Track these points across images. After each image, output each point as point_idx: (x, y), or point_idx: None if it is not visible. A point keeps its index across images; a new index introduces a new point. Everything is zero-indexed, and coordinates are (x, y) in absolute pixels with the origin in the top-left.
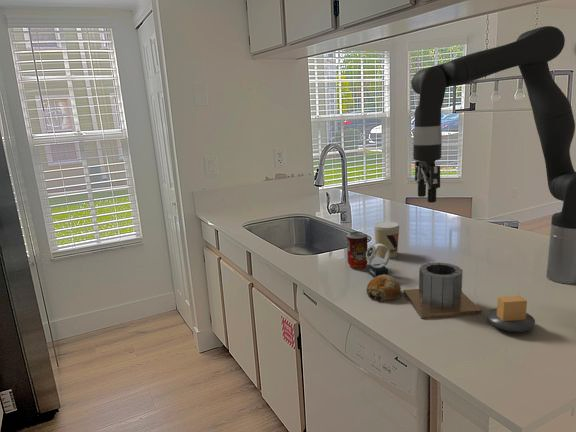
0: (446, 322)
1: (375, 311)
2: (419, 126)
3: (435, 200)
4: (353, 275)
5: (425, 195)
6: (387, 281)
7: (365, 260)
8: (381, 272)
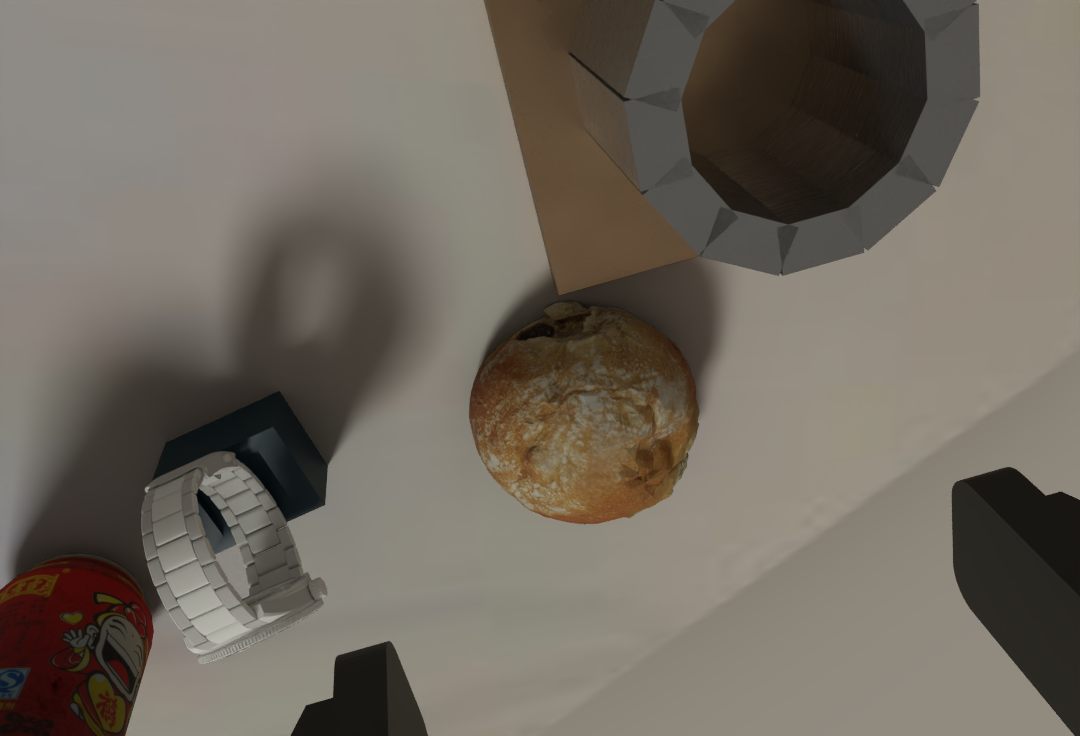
0: None
1: (803, 427)
2: None
3: (1022, 485)
4: None
5: (384, 645)
6: (652, 433)
7: (99, 591)
8: (302, 457)
